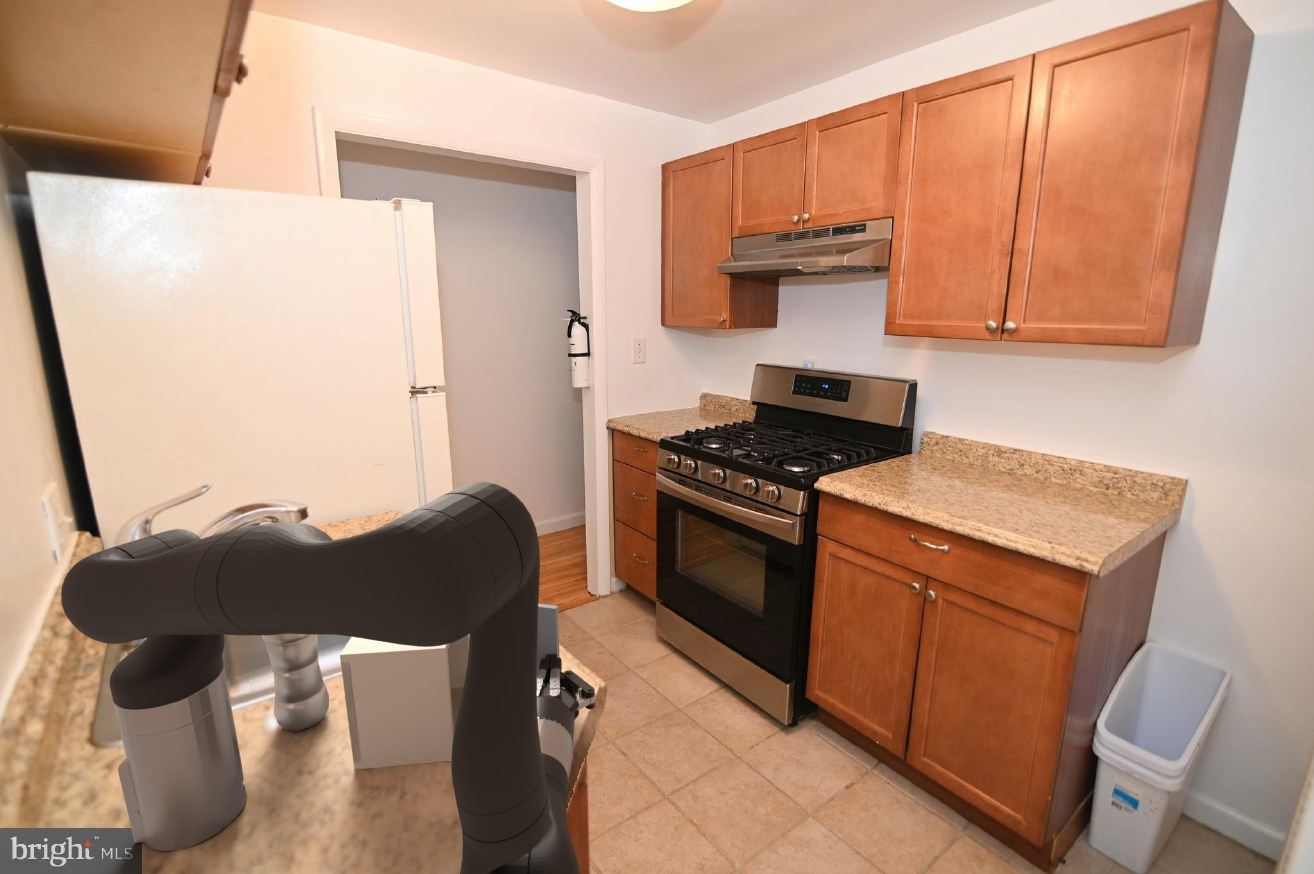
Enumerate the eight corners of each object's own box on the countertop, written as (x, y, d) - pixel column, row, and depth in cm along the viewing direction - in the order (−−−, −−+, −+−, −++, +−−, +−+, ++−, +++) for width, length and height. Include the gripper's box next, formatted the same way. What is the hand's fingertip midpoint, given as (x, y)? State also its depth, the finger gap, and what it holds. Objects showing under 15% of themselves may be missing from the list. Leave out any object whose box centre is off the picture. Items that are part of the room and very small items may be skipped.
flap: (558, 701, 85) (555, 607, 82) (472, 687, 88) (466, 596, 85) (561, 697, 86) (558, 604, 83) (475, 684, 89) (469, 593, 85)
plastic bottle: (300, 743, 78) (279, 605, 73) (265, 729, 80) (242, 594, 76) (342, 712, 84) (325, 582, 79) (308, 700, 86) (289, 573, 82)
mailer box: (354, 769, 74) (339, 654, 70) (389, 696, 87) (378, 597, 84) (454, 760, 75) (444, 648, 72) (473, 690, 89) (466, 592, 85)
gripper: (597, 717, 67) (598, 633, 84) (477, 724, 65) (502, 638, 82) (598, 773, 68) (599, 680, 85) (481, 782, 67) (505, 686, 84)
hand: (551, 660), depth 84 cm, fingers closed
